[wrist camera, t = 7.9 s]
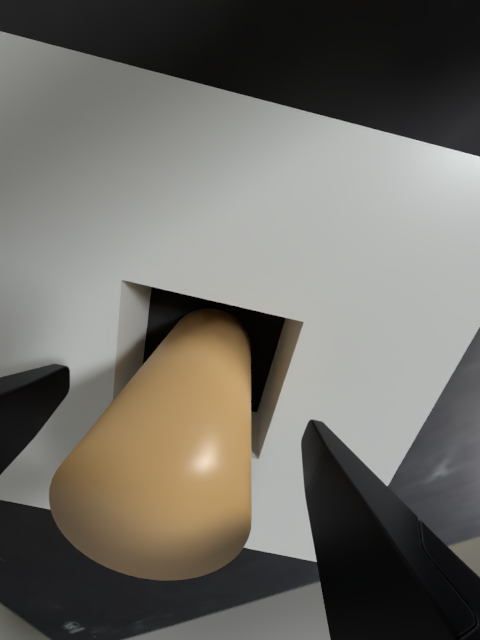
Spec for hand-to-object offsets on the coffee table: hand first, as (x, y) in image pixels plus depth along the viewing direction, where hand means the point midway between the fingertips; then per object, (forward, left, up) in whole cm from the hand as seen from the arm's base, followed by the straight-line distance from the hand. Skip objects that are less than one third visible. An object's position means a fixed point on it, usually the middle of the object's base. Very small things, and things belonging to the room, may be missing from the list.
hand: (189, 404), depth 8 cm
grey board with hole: (0, +4, -4) cm, 6 cm away
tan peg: (0, 0, -4) cm, 4 cm away
